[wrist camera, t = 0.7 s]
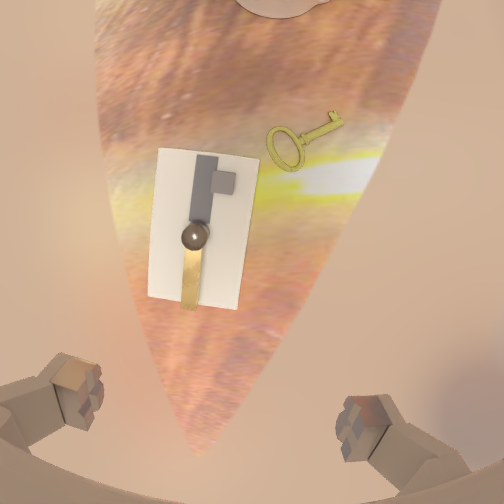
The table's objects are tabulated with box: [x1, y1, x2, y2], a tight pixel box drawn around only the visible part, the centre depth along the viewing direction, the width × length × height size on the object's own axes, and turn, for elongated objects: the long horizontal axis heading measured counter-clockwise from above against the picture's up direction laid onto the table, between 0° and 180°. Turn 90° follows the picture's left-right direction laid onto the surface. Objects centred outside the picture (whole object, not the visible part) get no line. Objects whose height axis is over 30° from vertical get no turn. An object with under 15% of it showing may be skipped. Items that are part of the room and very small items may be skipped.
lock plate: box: [148, 147, 260, 310], centre depth 45 cm, size 24×15×4 cm, turn 171°
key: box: [267, 110, 344, 172], centre depth 42 cm, size 7×12×2 cm, turn 138°
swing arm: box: [180, 221, 210, 311], centre depth 45 cm, size 13×4×4 cm, turn 171°
